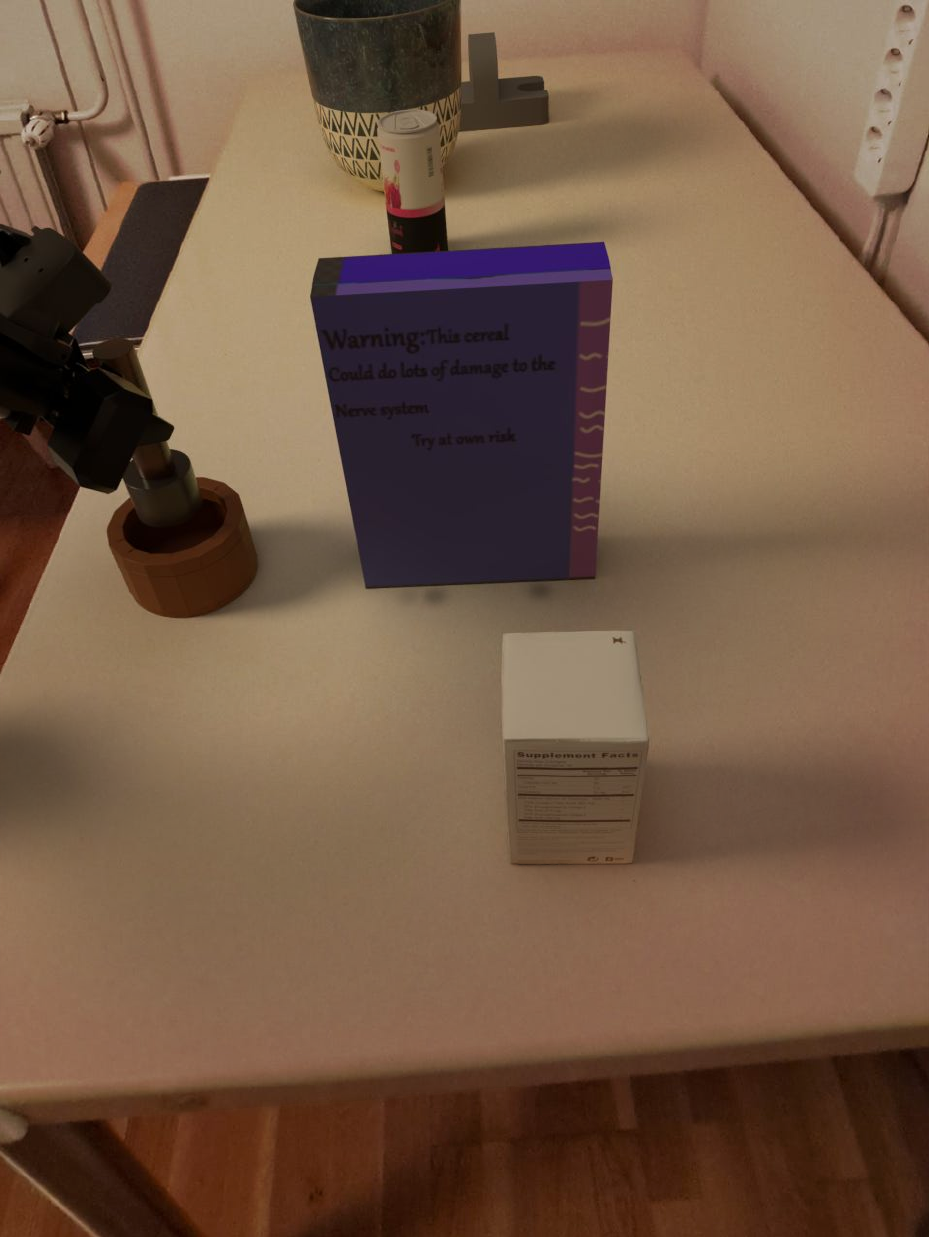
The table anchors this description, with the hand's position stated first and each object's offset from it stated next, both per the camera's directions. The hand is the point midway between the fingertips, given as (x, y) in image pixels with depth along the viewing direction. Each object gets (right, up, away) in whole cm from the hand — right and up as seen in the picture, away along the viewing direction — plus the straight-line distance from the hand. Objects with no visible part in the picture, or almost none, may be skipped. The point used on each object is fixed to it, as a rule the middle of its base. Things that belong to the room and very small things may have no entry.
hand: (160, 424), depth 65 cm
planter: (+12, +44, +59) cm, 75 cm away
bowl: (0, -10, +9) cm, 13 cm away
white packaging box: (+27, -25, -8) cm, 38 cm away
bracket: (+24, +61, +74) cm, 99 cm away
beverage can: (+16, +28, +44) cm, 55 cm away
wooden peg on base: (-1, -5, +4) cm, 7 cm away
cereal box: (+22, -9, +8) cm, 25 cm away
